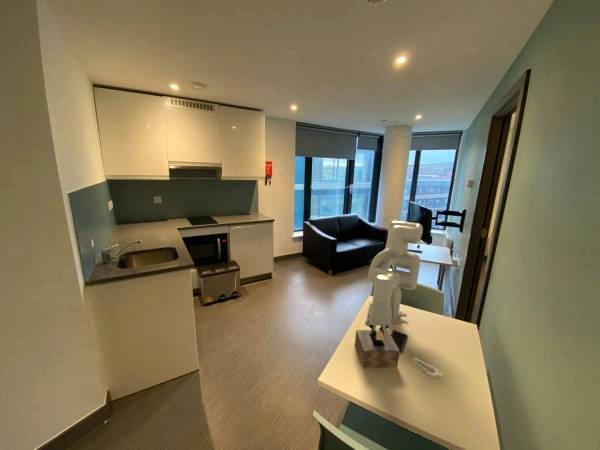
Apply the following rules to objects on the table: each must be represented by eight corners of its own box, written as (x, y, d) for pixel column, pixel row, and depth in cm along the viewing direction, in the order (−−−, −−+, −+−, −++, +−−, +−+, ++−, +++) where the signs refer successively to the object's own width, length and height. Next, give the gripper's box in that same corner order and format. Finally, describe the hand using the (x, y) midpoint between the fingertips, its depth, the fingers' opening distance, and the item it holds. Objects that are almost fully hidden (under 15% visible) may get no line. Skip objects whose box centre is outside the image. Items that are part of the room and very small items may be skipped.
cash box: (385, 345, 123) (387, 330, 121) (397, 367, 109) (399, 350, 107) (354, 345, 122) (356, 330, 120) (362, 367, 109) (364, 350, 107)
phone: (407, 335, 130) (402, 351, 118) (407, 336, 130) (402, 353, 118) (392, 329, 134) (386, 345, 122) (392, 331, 135) (385, 347, 122)
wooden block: (378, 336, 116) (378, 328, 116) (383, 340, 110) (382, 331, 110) (372, 336, 115) (371, 328, 116) (376, 339, 110) (376, 331, 110)
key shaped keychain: (408, 364, 113) (409, 361, 112) (413, 359, 116) (413, 356, 116) (439, 381, 103) (439, 377, 103) (442, 374, 107) (443, 371, 106)
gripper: (395, 297, 113) (390, 331, 117) (361, 297, 112) (357, 331, 117) (402, 306, 106) (397, 342, 110) (366, 306, 105) (362, 342, 109)
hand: (377, 336), depth 113 cm, fingers closed on wooden block, 2 cm apart
